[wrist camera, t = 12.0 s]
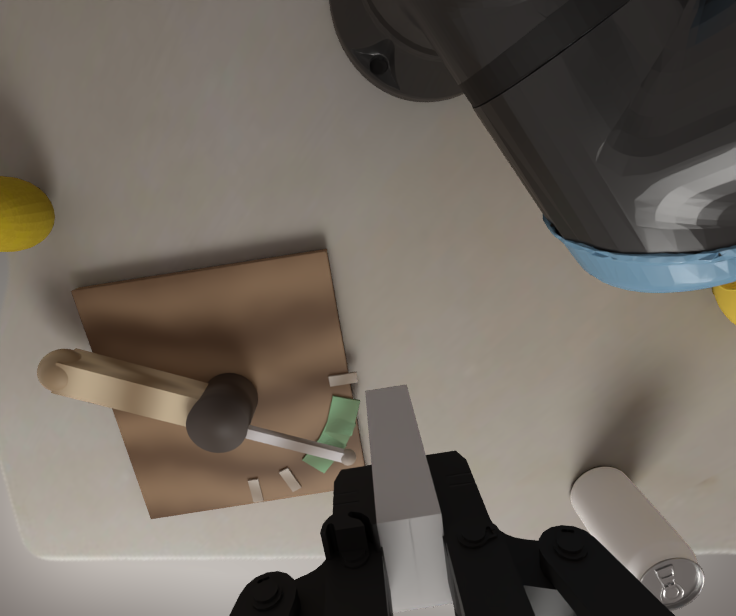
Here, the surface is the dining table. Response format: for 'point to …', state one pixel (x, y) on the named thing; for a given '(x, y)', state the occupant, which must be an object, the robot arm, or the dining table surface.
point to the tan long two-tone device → (173, 401)
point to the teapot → (726, 299)
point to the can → (637, 535)
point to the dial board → (233, 355)
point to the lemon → (23, 215)
